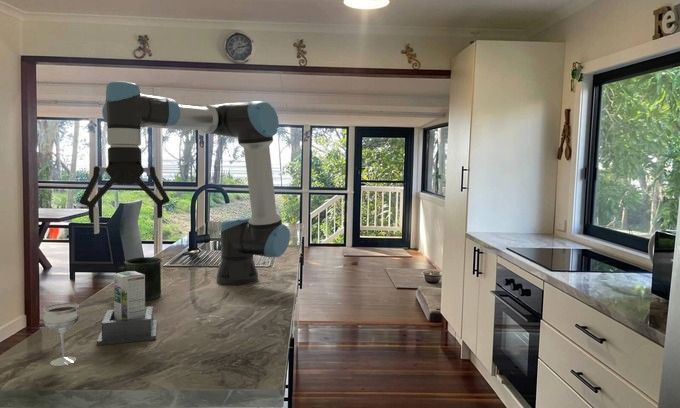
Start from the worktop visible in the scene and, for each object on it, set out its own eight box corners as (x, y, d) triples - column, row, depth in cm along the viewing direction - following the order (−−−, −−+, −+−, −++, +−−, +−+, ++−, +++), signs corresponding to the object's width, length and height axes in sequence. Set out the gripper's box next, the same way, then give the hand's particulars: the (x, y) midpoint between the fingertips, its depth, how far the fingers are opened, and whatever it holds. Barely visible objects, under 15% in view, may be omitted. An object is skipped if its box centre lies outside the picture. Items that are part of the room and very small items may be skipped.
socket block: (157, 322, 129) (157, 304, 129) (155, 339, 117) (155, 319, 116) (104, 327, 125) (103, 309, 124) (96, 345, 113) (96, 325, 112)
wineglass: (42, 369, 99) (40, 313, 98) (47, 357, 105) (45, 304, 104) (79, 364, 102) (77, 310, 101) (82, 353, 108) (80, 301, 107)
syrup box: (113, 329, 121) (112, 273, 119) (136, 324, 125) (135, 269, 124) (123, 335, 117) (122, 277, 116) (146, 329, 121) (145, 273, 120)
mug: (154, 302, 148) (153, 264, 147) (108, 301, 149) (107, 263, 148) (167, 292, 159) (167, 257, 158) (124, 291, 159) (123, 256, 158)
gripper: (178, 148, 124) (179, 228, 126) (70, 146, 116) (73, 231, 118) (178, 147, 117) (179, 232, 119) (63, 145, 109) (67, 236, 111)
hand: (127, 232), depth 119 cm, fingers open, 13 cm apart
